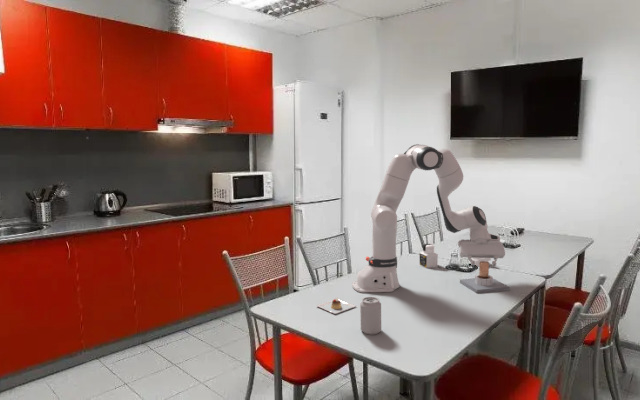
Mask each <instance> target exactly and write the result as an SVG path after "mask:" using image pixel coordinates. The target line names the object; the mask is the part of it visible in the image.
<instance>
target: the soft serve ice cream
mask: <svg viewBox="0 0 640 400" xmlns="http://www.w3.org/2000/svg"><path fill="white" fill-rule="evenodd" d="M491 260H492V258H473V261H475V265H476V266H475V267H478V268H479V267H480V261H487V262H490V261H491Z"/></svg>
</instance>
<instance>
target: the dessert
mask: <svg viewBox="0 0 640 400" xmlns="http://www.w3.org/2000/svg"><path fill="white" fill-rule="evenodd" d="M330 303H331V304H330ZM327 304H328V305H331V306H330V308H331V309H332V310H340V309H342V304H343V305H346V306H348V307H349V308H346V309H344V310H341V311H338V312H337V311H336V312H334V311H331V310H329V309H326V308H325V307H324V306H327ZM321 306H322V307H321ZM316 307H318V308H320V309H322V310H325V311H327V312H330V313H331V314H334V315H337V314H340V313H342V312H345V311H348V310H351V309H355V308H356V307H357V305H355V304H352V303H349V302H346V301H344V300H342V299H341V298H340V299H339V298H338V297H335V298H334V299H332V300H329V301H326V302H323V303H321V304H320V303H319V304H318V305H316Z"/></svg>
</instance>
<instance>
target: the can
mask: <svg viewBox="0 0 640 400" xmlns="http://www.w3.org/2000/svg"><path fill="white" fill-rule="evenodd" d="M359 307H360V330H361V331H362V332H363V333H364V334H365V335H368V336H369V335H370V336H372V335H377V334H379V333H380V332H381V331H382V303H381V302H380V299H379V298H377V297H376V296H366V297H363V298H362V299H361V302H360V305H359Z"/></svg>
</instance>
